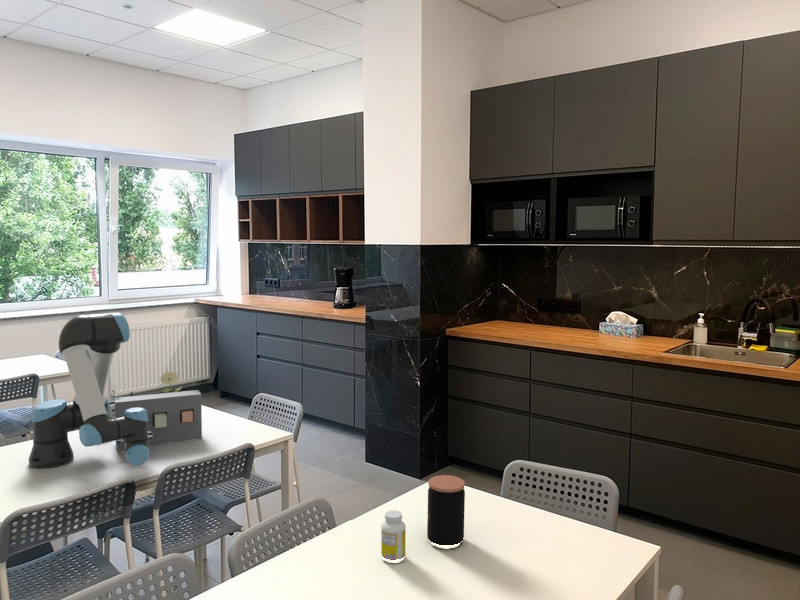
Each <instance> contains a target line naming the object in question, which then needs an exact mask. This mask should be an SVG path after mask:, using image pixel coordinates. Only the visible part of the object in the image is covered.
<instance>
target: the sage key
mask: <svg viewBox="0 0 800 600" xmlns="http://www.w3.org/2000/svg"><path fill="white" fill-rule="evenodd" d="M154 425H155V428H159V427H167V418H166V414H165V412H161V413H154Z"/></svg>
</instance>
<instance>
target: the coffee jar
mask: <svg viewBox="0 0 800 600" xmlns="http://www.w3.org/2000/svg"><path fill="white" fill-rule="evenodd" d="M427 482H428V483H427V484H428V490H427V521H426V522H427V527H426V528H427V529H426V531H427V532H426V533H427V534H426V536H427V537H428V538H427V540H428V539H429V540H430V541H431V542H433V543H436V544H439V545H454V544H458V543H460V542H461V541H462V540H463V541H464V539H463V538H464V537H465V504H466V503H465V500H466V497H465V496H466V492H465V486H466V482H465V480H463V479H462V478H461V477H458V476H456V475H448V474H441V475H440V474H439V475H435V476H432V477H430V478H429V479H428V481H427Z"/></svg>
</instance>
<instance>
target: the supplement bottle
mask: <svg viewBox="0 0 800 600" xmlns="http://www.w3.org/2000/svg"><path fill="white" fill-rule="evenodd" d="M402 518H403V513H402V511H399V510H397V509H395V510H392V509H391V510H387V511H386V512H385V513H384V521H383V522H382V524H381V535H380V536H381V540H380V541H381V546H380V547H381V550H380V551H381V552H380V553H381V554H382V556H383V557H384V558H386V559H390V560H396V559H401V558H403V557H404V556H405V557H406V524H405V522H404V521H403V520H402ZM381 554H380V555H381Z"/></svg>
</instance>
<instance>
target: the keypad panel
mask: <svg viewBox="0 0 800 600" xmlns="http://www.w3.org/2000/svg"><path fill="white" fill-rule="evenodd" d="M201 393H202V392H200V390H198V389H197V390H196V389H195V390H185V391H177V392H174V391H173V392H162V393H153V394H142V395H141V394H140V395H133V396H131V395H129V396H121V397H114V399H113V400H114V419H115V418H120V417H124V413H125V411H126V410H127V409H130V408H138V407H139V408H144V409H146V410H147V416H148V431H149V432H152V435H153V439H148V447H150V446H157V445H164V444H170V443H171V444H173V443H179V442H186V441H187V442H188V441H197V440H202V439H203V431H202V430H203V427H202V423H203V422H202V421H203V418H202V394H201ZM188 409H192V411H193V421H191V422H183V423H182V421H181V419H180V410H188ZM161 412H165V414H166V418H167V427H159V428H155V425H154V413H161ZM115 446H116V447H115V448H116V450H119V451H120V450H124V449H125V443H123V442H121V443H117V440H115Z"/></svg>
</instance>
